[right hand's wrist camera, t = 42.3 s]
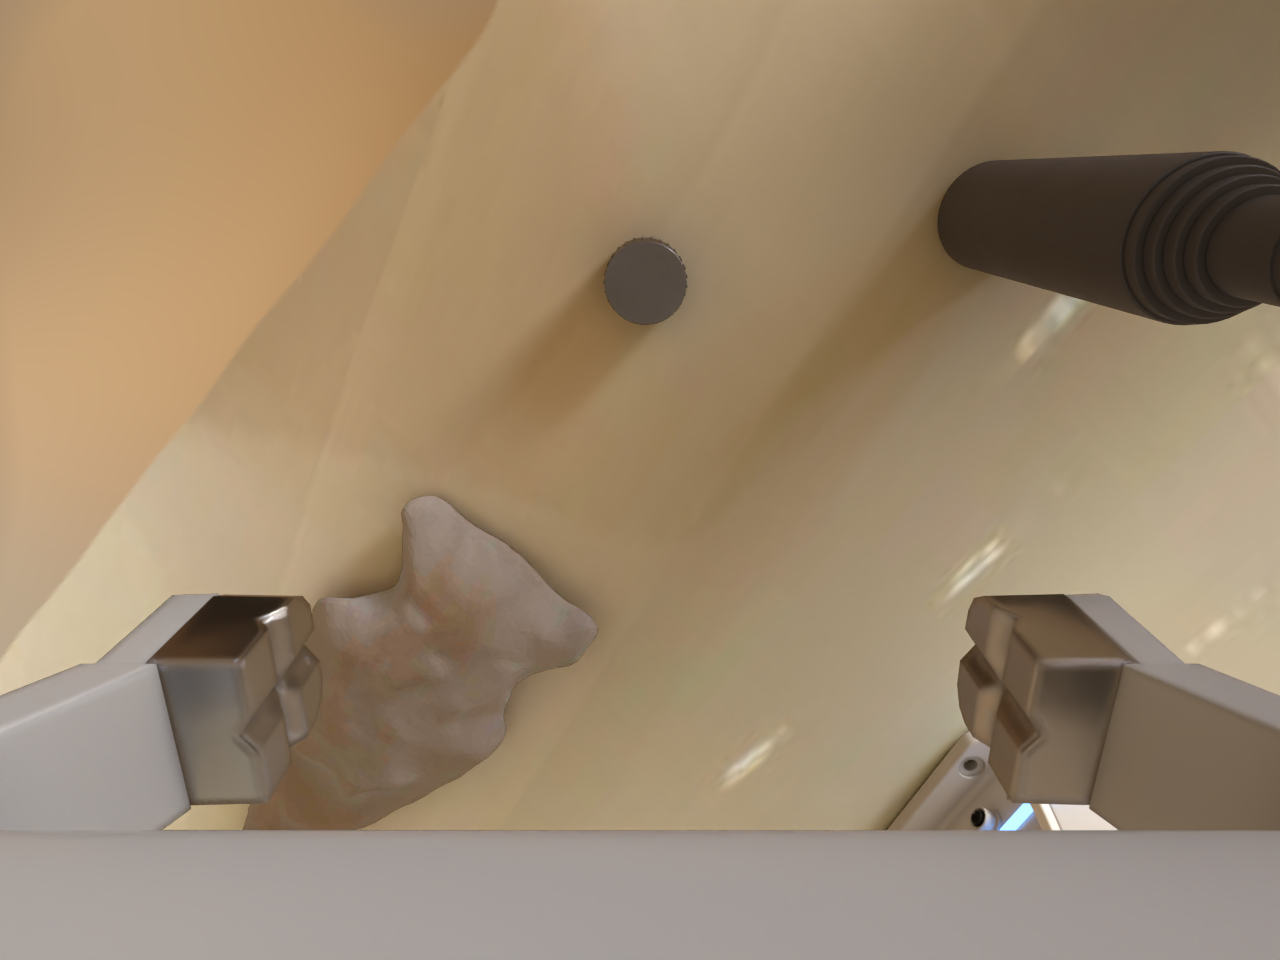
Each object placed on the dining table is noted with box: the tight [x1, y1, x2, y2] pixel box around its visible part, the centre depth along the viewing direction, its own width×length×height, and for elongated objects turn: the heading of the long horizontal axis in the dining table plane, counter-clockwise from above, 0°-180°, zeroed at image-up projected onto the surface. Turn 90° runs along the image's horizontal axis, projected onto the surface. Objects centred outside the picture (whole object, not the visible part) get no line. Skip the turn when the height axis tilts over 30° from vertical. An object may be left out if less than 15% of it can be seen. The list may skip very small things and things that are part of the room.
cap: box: [604, 237, 687, 325], centre depth 42 cm, size 4×4×2 cm
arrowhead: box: [243, 496, 598, 830], centre depth 50 cm, size 14×5×30 cm
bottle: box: [938, 151, 1280, 325], centre depth 31 cm, size 5×5×22 cm
